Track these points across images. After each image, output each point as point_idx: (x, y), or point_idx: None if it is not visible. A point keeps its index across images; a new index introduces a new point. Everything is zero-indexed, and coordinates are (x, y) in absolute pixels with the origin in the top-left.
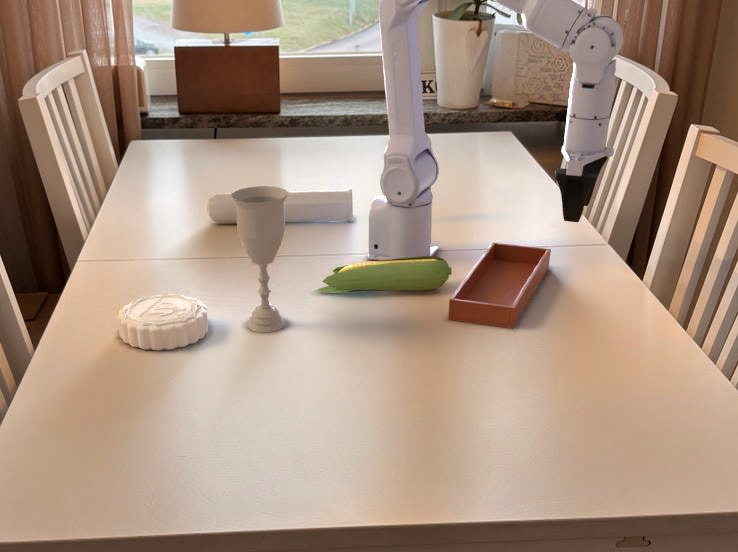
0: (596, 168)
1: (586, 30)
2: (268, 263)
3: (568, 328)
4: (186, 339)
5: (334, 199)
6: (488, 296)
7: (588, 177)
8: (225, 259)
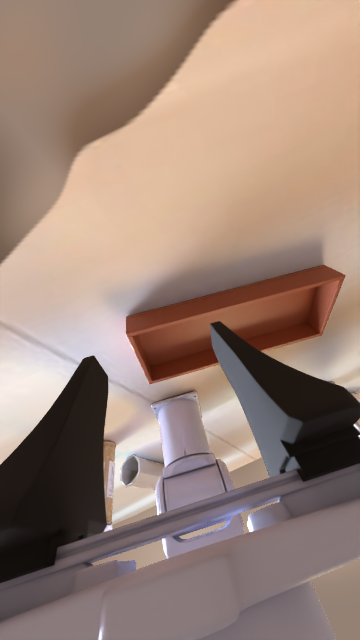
0: (59, 463)
1: None
2: None
3: (318, 203)
4: (356, 396)
5: (145, 477)
6: (253, 321)
7: (357, 416)
8: (233, 444)
